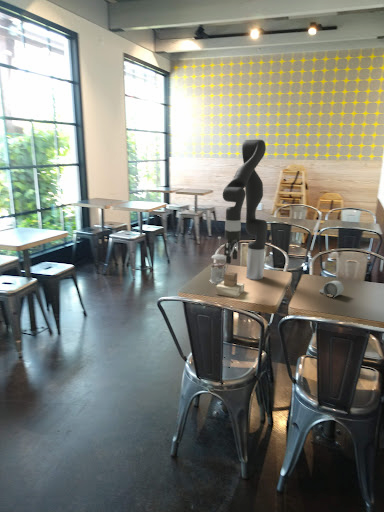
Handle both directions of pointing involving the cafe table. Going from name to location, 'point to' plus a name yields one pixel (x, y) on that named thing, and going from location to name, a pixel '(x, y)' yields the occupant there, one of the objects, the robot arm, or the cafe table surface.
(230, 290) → the birch base
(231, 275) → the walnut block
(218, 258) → the french press
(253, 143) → the robot arm
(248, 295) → the cafe table surface
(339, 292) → the ceramic mug
